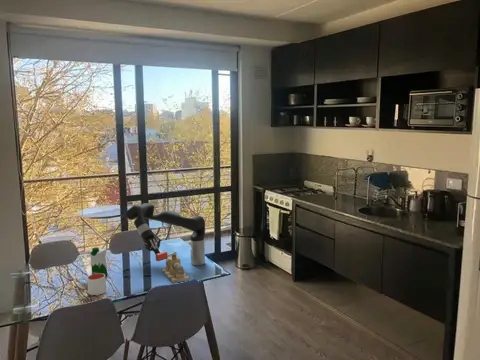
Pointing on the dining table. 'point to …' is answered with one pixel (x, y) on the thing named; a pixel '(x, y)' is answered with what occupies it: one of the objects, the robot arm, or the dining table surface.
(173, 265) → the valve
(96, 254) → the milk carton
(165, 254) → the lever
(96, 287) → the cup
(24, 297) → the dining table surface
